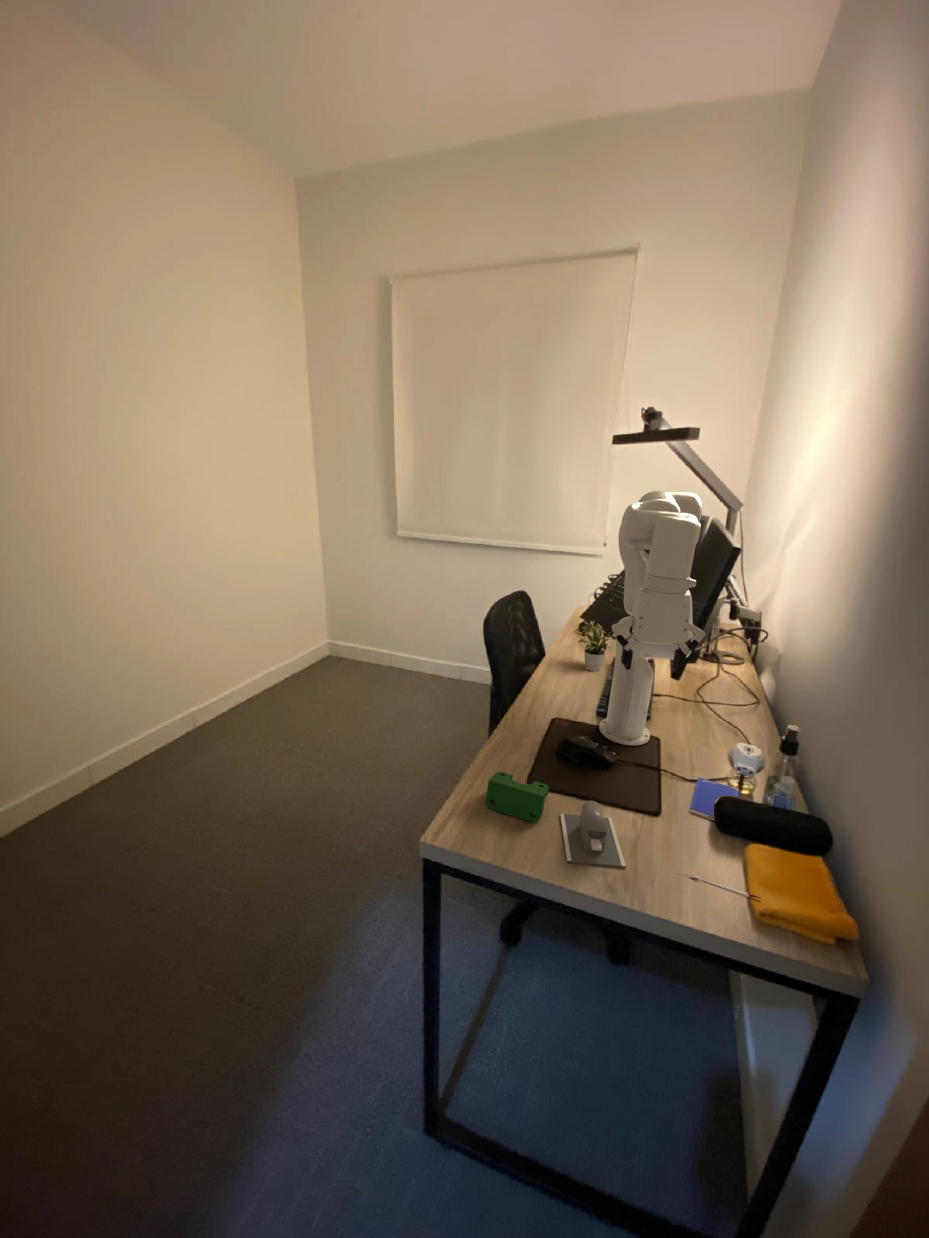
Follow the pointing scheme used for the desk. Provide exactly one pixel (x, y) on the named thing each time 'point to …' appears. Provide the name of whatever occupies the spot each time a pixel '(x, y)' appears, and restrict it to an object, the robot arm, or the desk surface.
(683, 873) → the stylus
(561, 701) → the desk surface
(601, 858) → the mat
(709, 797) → the hard drive
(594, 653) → the house plant
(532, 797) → the clamp
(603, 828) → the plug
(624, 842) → the desk surface
